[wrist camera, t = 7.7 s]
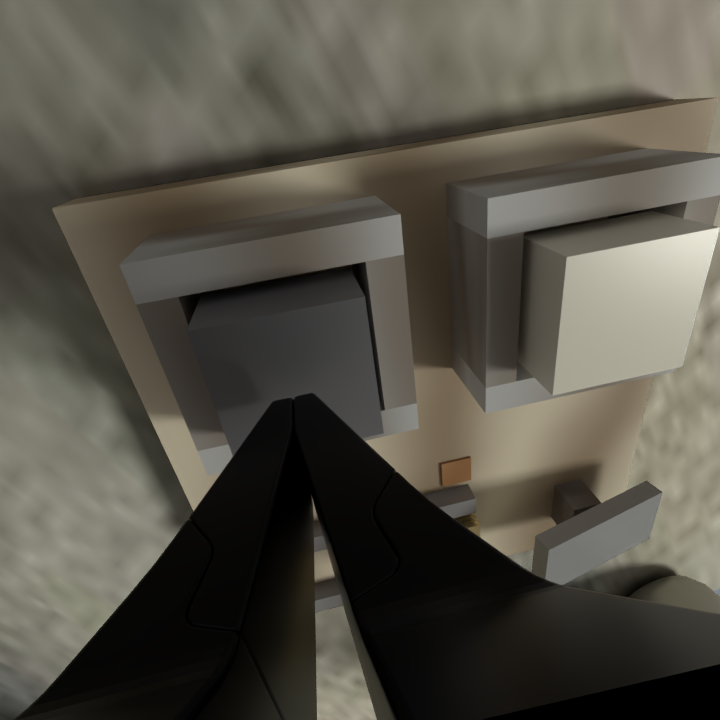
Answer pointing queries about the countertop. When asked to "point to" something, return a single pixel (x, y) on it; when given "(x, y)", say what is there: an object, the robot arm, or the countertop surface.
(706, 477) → the countertop surface
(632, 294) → the cream button
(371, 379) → the charcoal button
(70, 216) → the panel
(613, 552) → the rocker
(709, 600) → the plastic bottle
